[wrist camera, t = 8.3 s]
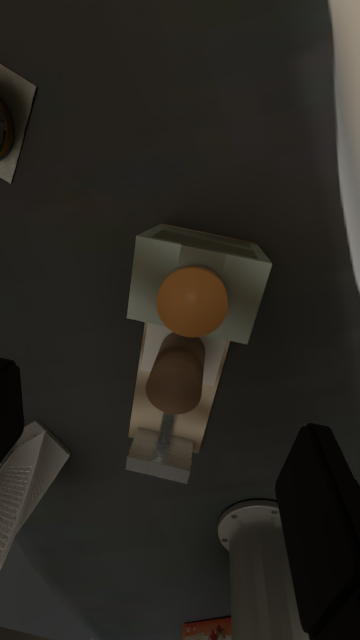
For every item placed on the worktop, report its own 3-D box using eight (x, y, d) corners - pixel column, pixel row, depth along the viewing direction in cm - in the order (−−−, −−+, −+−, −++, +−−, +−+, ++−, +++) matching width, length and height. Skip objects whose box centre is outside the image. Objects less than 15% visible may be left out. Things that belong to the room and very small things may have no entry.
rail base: (199, 444, 38) (193, 517, 29) (131, 428, 38) (106, 496, 30) (255, 242, 28) (272, 263, 19) (162, 223, 28) (136, 235, 19)
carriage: (214, 364, 31) (212, 434, 22) (149, 349, 31) (121, 413, 22) (228, 312, 29) (232, 367, 19) (158, 297, 29) (129, 344, 20)
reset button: (218, 324, 22) (218, 343, 19) (160, 311, 22) (151, 329, 19) (233, 266, 20) (236, 278, 17) (170, 253, 20) (162, 262, 17)
